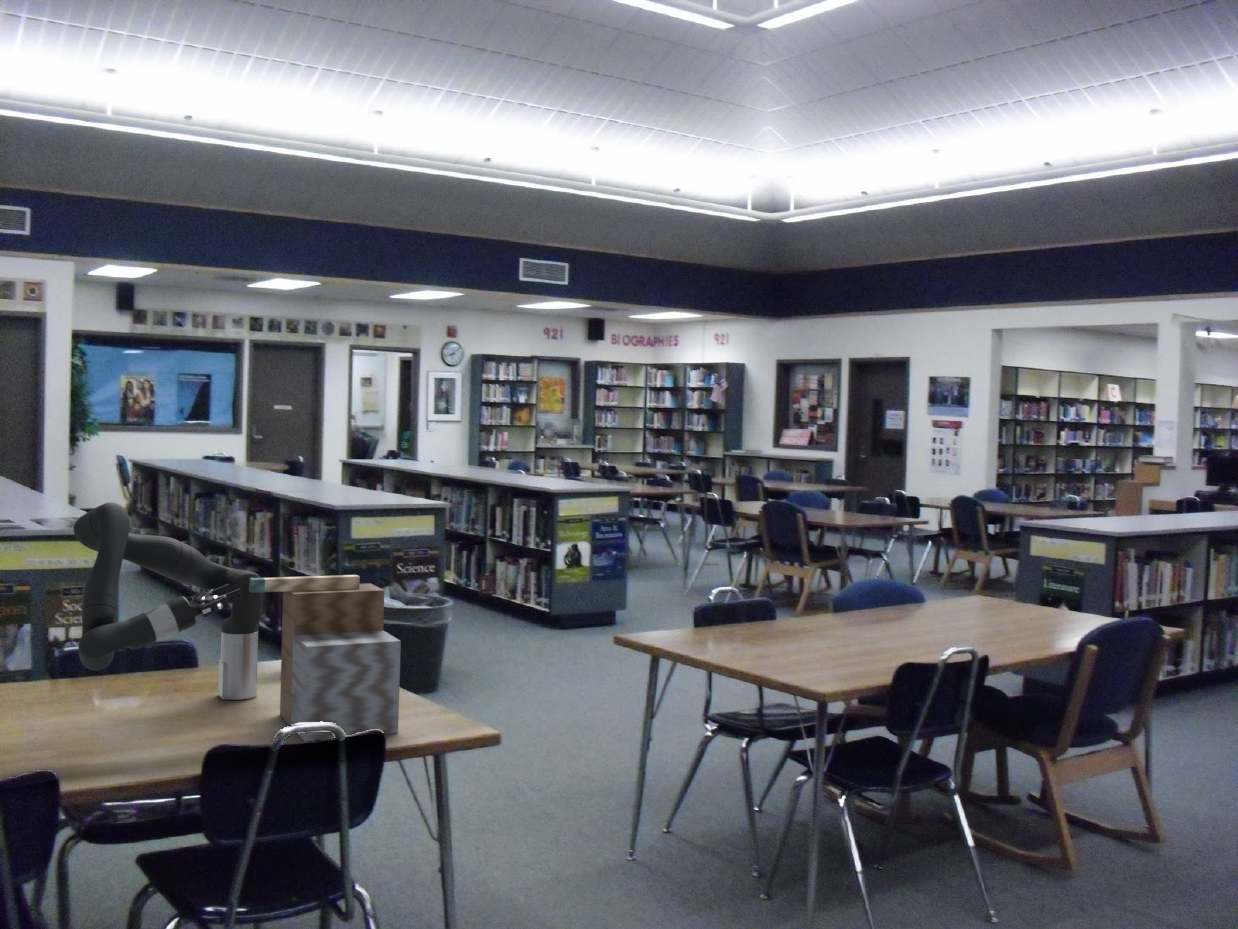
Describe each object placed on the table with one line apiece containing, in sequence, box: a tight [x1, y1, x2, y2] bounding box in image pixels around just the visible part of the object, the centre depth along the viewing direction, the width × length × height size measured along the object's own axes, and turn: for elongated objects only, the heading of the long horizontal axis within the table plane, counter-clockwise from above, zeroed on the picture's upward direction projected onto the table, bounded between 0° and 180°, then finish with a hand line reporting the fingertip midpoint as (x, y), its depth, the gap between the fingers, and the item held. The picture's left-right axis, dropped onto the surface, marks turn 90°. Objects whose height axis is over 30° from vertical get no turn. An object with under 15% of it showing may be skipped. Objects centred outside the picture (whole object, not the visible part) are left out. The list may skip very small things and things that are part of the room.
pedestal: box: [279, 582, 402, 743], centre depth 278 cm, size 22×26×32 cm
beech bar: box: [249, 574, 361, 593], centre depth 280 cm, size 26×3×3 cm, turn 119°
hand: (236, 590), depth 271 cm, fingers open, 8 cm apart
